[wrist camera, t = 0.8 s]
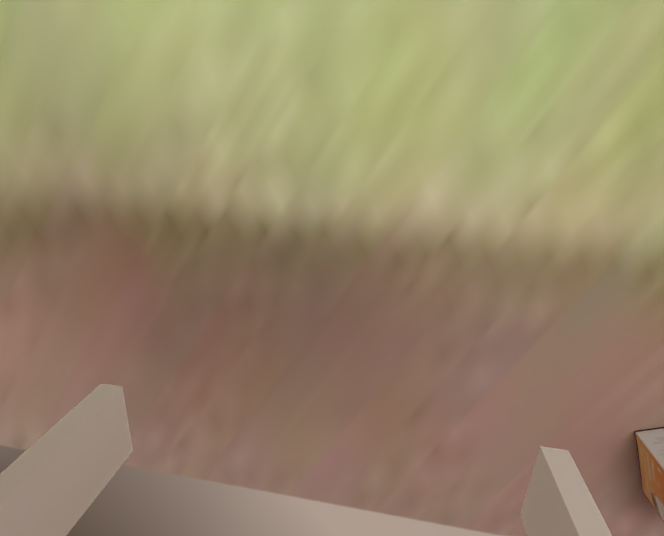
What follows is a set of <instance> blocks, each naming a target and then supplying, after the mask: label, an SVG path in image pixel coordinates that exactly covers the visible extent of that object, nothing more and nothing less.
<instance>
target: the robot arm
mask: <svg viewBox="0 0 664 536" xmlns="http://www.w3.org/2000/svg"><path fill="white" fill-rule="evenodd" d="M132 452H133V448H132V442H131V436H130V430H129V424H128V418H127V412H126V406H125V399H124V393H123V387H122V386H116V385H109V384H102V383H101V384H100V385H99V386H98V387H96V388H95V389H94V390H93V391H92V392H91V393H90V394H89V395H87V396H86V397H85V398H84V399H83V400H82V401H81V402H80V403H79V404H77V405H76V406H75V407H74V408H73V409H72V410H71V411H70V412H69V413H67V414H66V415H65V416H64V417H63V418H62V419H61V420H60V421H59V422H57V423H56V424H55V425H54V426H53V427H52V428H51V429H50V430H49V431H47V432H46V433H45V434H44V435H43V436H42V437H41V438H40V439H39V440H37V441H36V442H35V443H34V444H33V445H32V446H31V447H30V448H29V449H27V450H26V451H25V452H24V453H23V454H22V455H21V456H20V457H19V458H17V459H16V460H15V461H14V462H13V463H12V464H11V465H10V466H9V467H8V468H7V469H5V470H4V471H3V472H2V473H1V474H0V536H66V535H67V534H68V532H69V531H70V530H71V528H72V527H73V526H74V525H75V524H76V522H77V521H78V520H79V518H80V517H81V516H82V515H83V513H84V512H85V511H86V510H87V508H88V507H89V506H90V504H91V503H92V502H93V501H94V500H95V498H96V497H97V496H98V495H99V493H100V492H101V491H102V489H103V488H104V487H105V486H106V484H107V483H108V482H109V480H110V479H111V478H112V477H113V476H114V474H115V473H116V472H117V470H118V469H119V468H120V467H121V465H122V464H123V463H124V462H125V460H126V459H127V458H128V457H129V455H130V454H131V453H132ZM520 516H521V519H522V522H523V526H524V529H525V532H526V535H527V536H612V535H611V533H610V531H609V529H608V527H607V525H606V523H605V521H604V519H603V517H602V515H601V513H600V511H599V509H598V507H597V505H596V504H595V502H594V500H593V498H592V496H591V494H590V492H589V490H588V488H587V486H586V484H585V482H584V480H583V478H582V476H581V474H580V472H579V470H578V469H577V467H576V465H575V463H574V461H573V459H572V457H571V455H570V453H569V451H568V450H563V449H556V448H549V447H542V446H540V448H539V452H538V455H537V459H536V462H535V465H534V469H533V472H532V475H531V479H530V482H529V486H528V489H527V492H526V496H525V499H524V502H523V506H522V509H521V513H520Z"/></svg>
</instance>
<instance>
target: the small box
mask: <svg viewBox="0 0 664 536" xmlns="http://www.w3.org/2000/svg"><path fill="white" fill-rule="evenodd" d="M635 435H636V440H637V445H638V453H639V461H640V470H641V479H642V488H643V492H644V493H645V495H646V496H647V498H648V499H649V501H650V502H651V504H652V505H653V507H654V508H655V510H656V511H657V513H658V514H659V516H660V517H661V519H662V521H663V522H664V428H661V429H654V430H647V431H640V432H636V433H635Z"/></svg>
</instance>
